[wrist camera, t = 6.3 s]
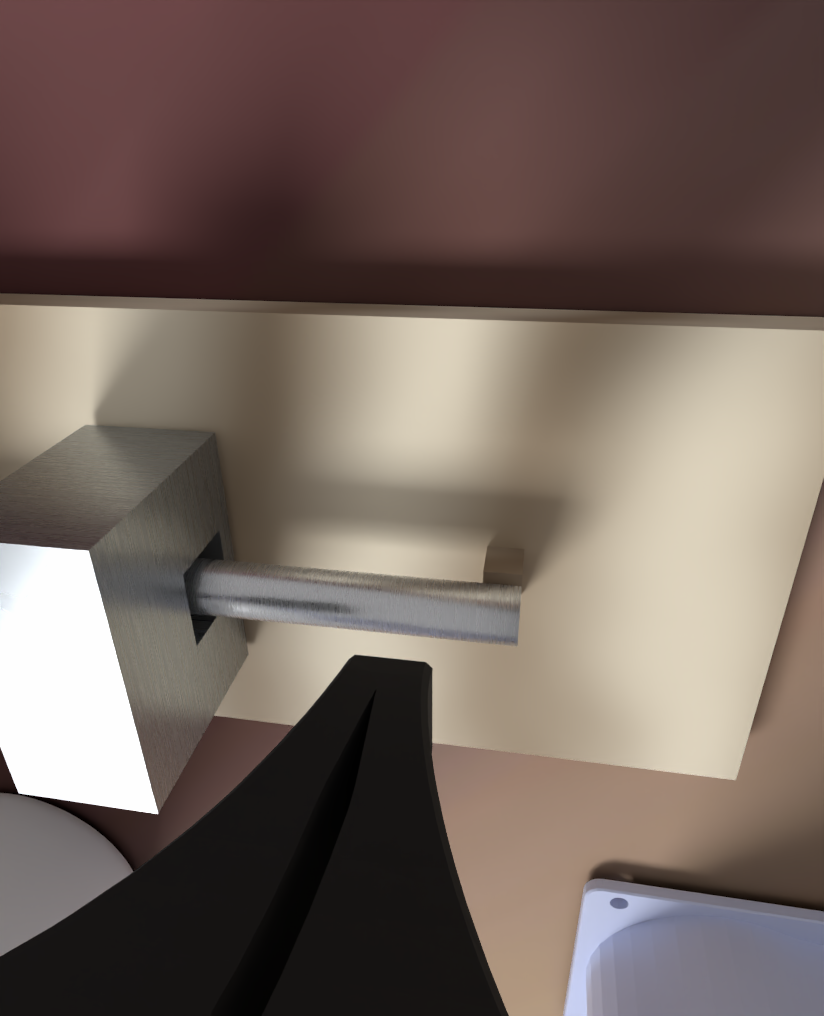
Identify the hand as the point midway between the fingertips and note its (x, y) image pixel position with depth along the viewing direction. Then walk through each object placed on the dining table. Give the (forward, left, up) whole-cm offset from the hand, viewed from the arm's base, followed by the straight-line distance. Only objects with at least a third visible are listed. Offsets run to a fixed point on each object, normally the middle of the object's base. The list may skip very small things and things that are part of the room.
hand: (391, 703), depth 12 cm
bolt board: (+4, 0, -6) cm, 7 cm away
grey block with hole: (+6, 0, -4) cm, 7 cm away
